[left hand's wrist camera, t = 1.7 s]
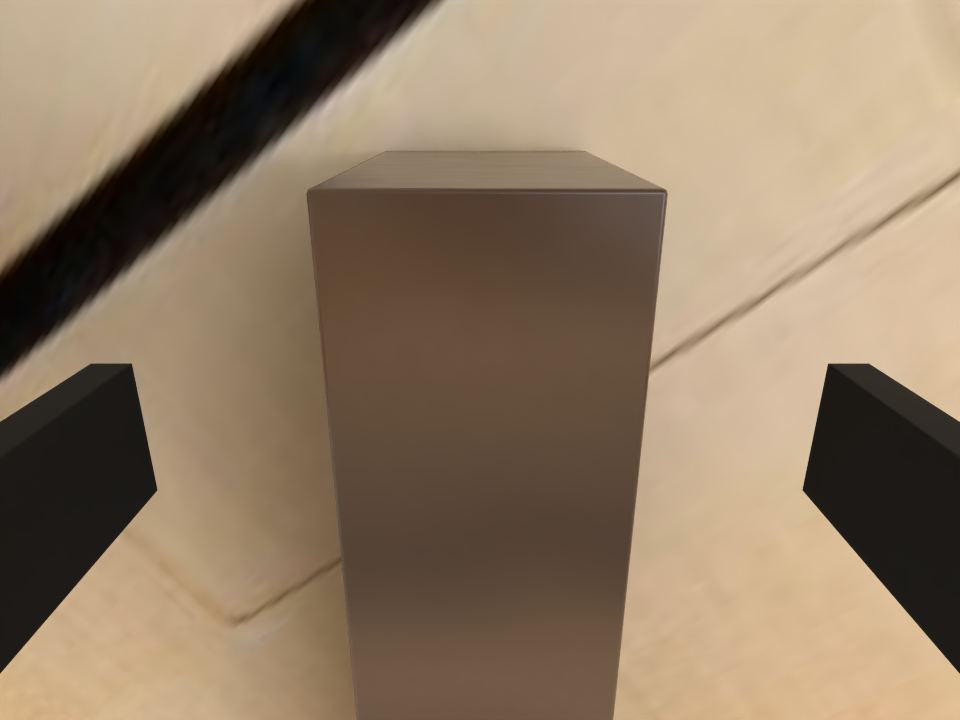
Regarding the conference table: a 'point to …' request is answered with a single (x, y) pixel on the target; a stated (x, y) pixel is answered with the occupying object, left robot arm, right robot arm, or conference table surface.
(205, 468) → the conference table surface
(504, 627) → the box
